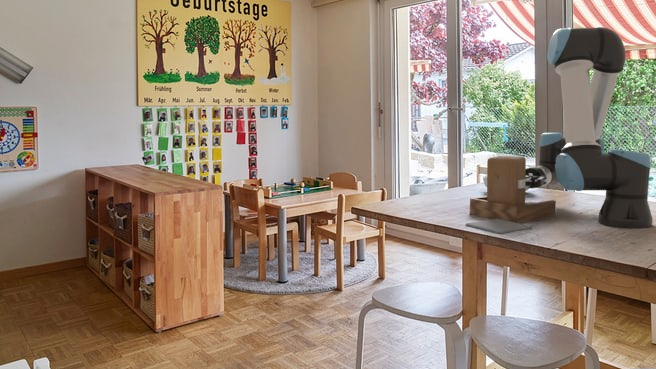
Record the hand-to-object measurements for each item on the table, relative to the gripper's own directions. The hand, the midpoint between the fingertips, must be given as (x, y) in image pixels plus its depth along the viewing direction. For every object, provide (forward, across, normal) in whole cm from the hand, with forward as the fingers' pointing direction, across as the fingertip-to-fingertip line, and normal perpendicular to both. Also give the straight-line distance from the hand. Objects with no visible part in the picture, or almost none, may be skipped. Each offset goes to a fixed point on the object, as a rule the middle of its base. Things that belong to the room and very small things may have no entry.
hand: (502, 182), depth 184 cm
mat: (+14, -8, -12) cm, 20 cm away
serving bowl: (-48, +27, -12) cm, 56 cm away
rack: (-5, -1, -12) cm, 13 cm away
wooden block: (-2, 0, -12) cm, 12 cm away
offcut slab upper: (-12, -3, -10) cm, 16 cm away
